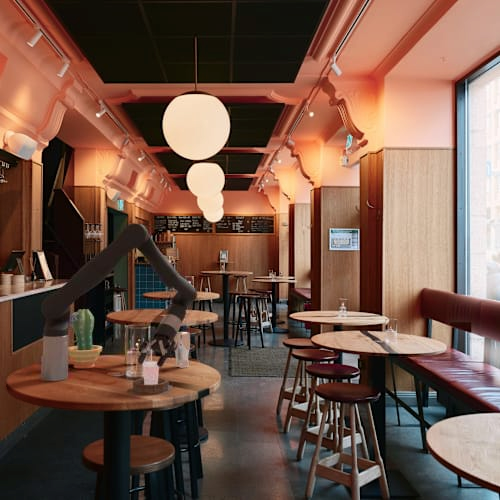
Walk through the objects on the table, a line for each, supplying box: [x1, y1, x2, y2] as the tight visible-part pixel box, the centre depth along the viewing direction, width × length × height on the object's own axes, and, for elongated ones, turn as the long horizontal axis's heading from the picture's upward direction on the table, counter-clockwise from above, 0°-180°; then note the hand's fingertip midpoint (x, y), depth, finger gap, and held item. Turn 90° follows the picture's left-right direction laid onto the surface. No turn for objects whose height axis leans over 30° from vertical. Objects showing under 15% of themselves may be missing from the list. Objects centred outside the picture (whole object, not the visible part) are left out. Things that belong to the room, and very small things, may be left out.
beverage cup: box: [142, 348, 160, 385], centre depth 191 cm, size 6×6×14 cm
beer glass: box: [173, 331, 191, 369], centre depth 232 cm, size 7×7×15 cm
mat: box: [128, 384, 173, 395], centre depth 190 cm, size 14×12×1 cm
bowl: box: [132, 376, 170, 395], centre depth 190 cm, size 12×12×3 cm
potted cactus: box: [68, 308, 103, 369], centre depth 232 cm, size 15×15×25 cm
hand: (149, 364), depth 189 cm, fingers open, 8 cm apart
